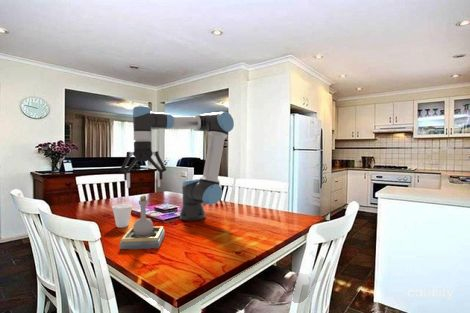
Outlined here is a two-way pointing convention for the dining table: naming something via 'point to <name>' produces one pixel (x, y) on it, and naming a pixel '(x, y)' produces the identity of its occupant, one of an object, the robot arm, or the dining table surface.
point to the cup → (122, 214)
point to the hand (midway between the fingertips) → (143, 187)
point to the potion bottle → (143, 221)
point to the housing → (142, 239)
